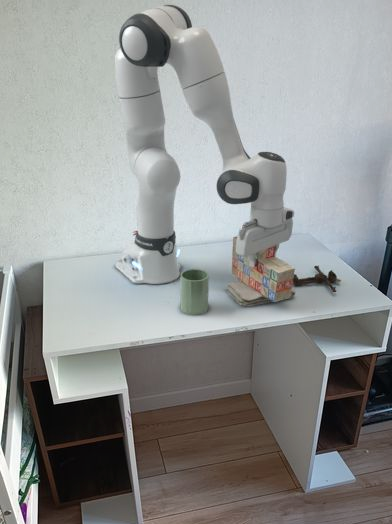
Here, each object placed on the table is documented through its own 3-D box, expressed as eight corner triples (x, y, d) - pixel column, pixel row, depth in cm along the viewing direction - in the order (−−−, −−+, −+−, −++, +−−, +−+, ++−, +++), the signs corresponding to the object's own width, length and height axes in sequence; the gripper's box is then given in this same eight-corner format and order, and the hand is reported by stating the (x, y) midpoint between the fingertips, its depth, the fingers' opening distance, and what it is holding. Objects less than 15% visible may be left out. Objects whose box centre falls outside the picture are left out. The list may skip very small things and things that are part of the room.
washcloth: (223, 290, 154) (224, 281, 152) (275, 281, 159) (276, 272, 158) (240, 309, 145) (241, 299, 143) (295, 298, 150) (296, 289, 149)
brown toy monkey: (285, 263, 163) (329, 257, 164) (285, 275, 166) (328, 269, 167) (303, 289, 149) (351, 282, 150) (302, 301, 151) (349, 294, 152)
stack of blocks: (291, 297, 144) (296, 257, 137) (274, 303, 141) (278, 262, 134) (247, 269, 159) (249, 232, 152) (230, 274, 156) (232, 236, 149)
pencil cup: (175, 307, 145) (174, 274, 139) (195, 298, 149) (195, 266, 144) (193, 317, 140) (193, 283, 134) (213, 308, 145) (214, 275, 139)
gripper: (249, 227, 130) (245, 276, 138) (298, 210, 142) (292, 255, 150) (231, 221, 134) (229, 269, 142) (280, 204, 146) (276, 249, 154)
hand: (262, 262), depth 146 cm, fingers closed on stack of blocks, 6 cm apart
